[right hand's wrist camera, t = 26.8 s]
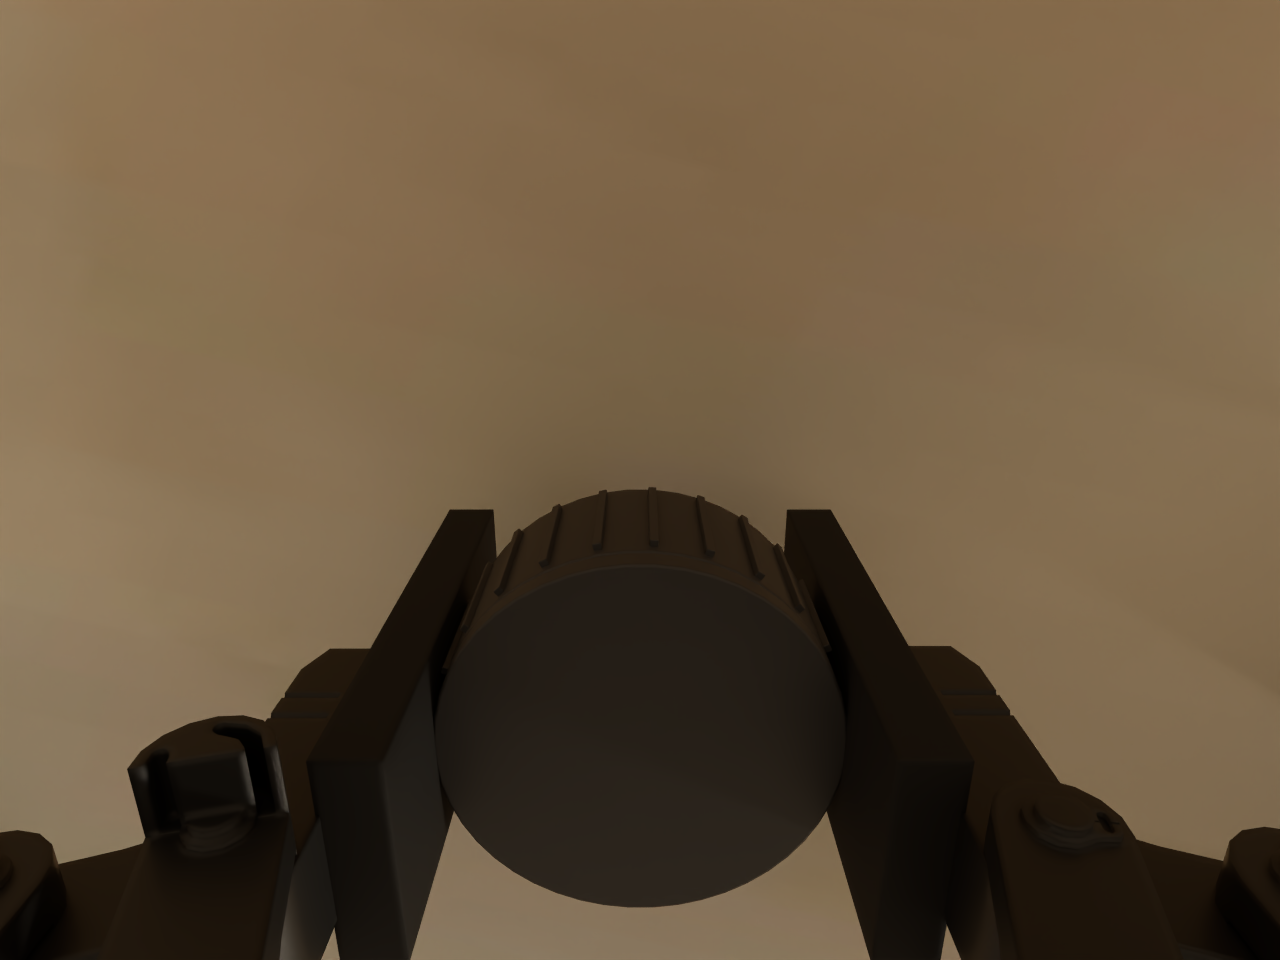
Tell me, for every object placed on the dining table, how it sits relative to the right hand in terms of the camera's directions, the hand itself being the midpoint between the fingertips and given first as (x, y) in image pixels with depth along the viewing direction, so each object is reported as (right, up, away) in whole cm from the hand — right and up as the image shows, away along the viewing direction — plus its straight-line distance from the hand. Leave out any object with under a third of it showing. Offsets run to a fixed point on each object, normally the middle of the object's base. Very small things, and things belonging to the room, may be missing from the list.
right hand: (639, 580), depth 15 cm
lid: (0, -1, -4) cm, 4 cm away
